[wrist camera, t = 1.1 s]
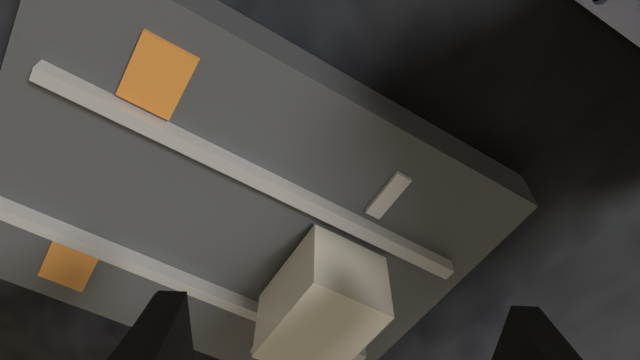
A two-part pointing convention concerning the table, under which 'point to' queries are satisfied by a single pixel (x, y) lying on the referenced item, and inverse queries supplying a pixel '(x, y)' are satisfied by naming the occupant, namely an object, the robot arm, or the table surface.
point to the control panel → (220, 169)
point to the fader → (323, 301)
